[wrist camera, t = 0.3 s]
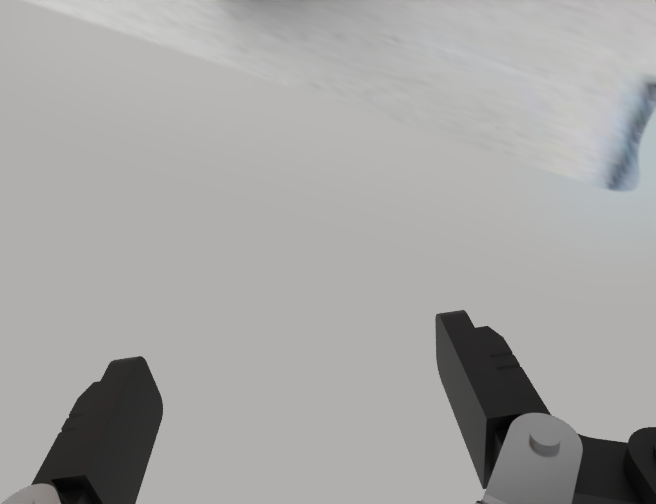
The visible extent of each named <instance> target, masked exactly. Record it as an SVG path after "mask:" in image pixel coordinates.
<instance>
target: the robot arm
mask: <svg viewBox="0 0 656 504" xmlns="http://www.w3.org/2000/svg"><path fill="white" fill-rule="evenodd" d="M436 358H437V365H438V371H439V374H440V378H441V381H442V384H443V386H444V389H445V392H446V394H447V397H448V399H449V402H450V404H451V407H452V409H453V412H454V415H455V417H456V420H457V423H458V425H459V428H460V430H461V433H462V436H463V438H464V441H465V443H466V446H467V449H468V451H469V454H470V456H471V459H472V462H473V464H474V467H475V469H476V472H477V475H478V477H479V480H480V482H481V485H482V487H483V489H486V491H485V494H484V496H483V499H482V500H481V501H477V502H476V503H475V504H656V427H648V428H642V429H640V430H637V431H636V432H634V433H633V434H632V435H631V437H630V439H629V441H628V443H624V442H617V441H610V440H609V441H608V440H602V439H595V438H590V437H586V436H582V435H580V434H577V433H576V431H575V430H574V429H573V428H572V427H571V426H570V425H569V424H567V423H566V422H564V421H562V420H561V419H559V418H557V417H554V416H552V415H551V414H550V412H549V411H548V409H547V408H546V406H545V404H544V403H543V401H542V400H541V398H540V397H539V395H538V393H537V392H536V390H535V388H534V387H533V385H532V383H531V382H530V380H529V378H528V377H527V375H526V374H525V372H524V370H523V369H522V367H520V365H519V362H518V361H517V359H516V357H515V356H514V355H513V354H512V351H511V349H510V348H509V346H508V344H507V343H506V341H505V340H504V338H503V337H502V336H500V335H499V334H498V333H496V332H495V331H494V330H492V329H491V328H489V327H488V326H484V327H478V328H475V327H474V325H473V324H472V322H471V320H470V318H469V316H468V315H467V313H466V312H465V311H464V310H461V311H454V312H447V313H440V314H437V315H436ZM162 415H163V404H162V398H161V395H160V393H159V391H158V388H157V386H156V383H155V381H154V379H153V376H152V374H151V372H150V369H149V367H148V365H147V362H146V360H145V359H144V358H143V357H141V356H139V357H133V358H125V359H119V360H114V361H111V363H110V364H109V365H108V368H107V369H106V371H105V373H104V376H103V377H102V379H101V381H100V382H94V383H93V384H92V385H91V386H90V387H89V388H88V389H87V390H86V391H85V392H84V393H83V394H82V395H81V396H80V397H79V398H78V399H77V401H76V403H75V405H74V407H73V408H72V411H71V412H70V414H69V418H67V420H66V421H65V423H64V425H63V427H62V432H60V433H59V434H58V436H57V438H56V440H55V442H54V444H53V446H52V447H51V449H50V451H49V453H48V455H47V457H46V458H45V460H44V462H43V464H42V466H41V468H40V470H39V471H38V473H37V475H36V477H35V479H34V481H33V483H32V484H31V486H28V487H26V488H23V489H21V490H19V491H18V492H16V493H15V494H13V495H11V496H10V497H9V498H8V499H6V500H5V501H4V502H3V503H2V504H135V503H136V500H137V496H138V493H139V490H140V487H141V484H142V480H143V477H144V474H145V471H146V468H147V464H148V461H149V458H150V455H151V452H152V448H153V445H154V442H155V439H156V435H157V433H158V430H159V426H160V423H161V420H162Z"/></svg>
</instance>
